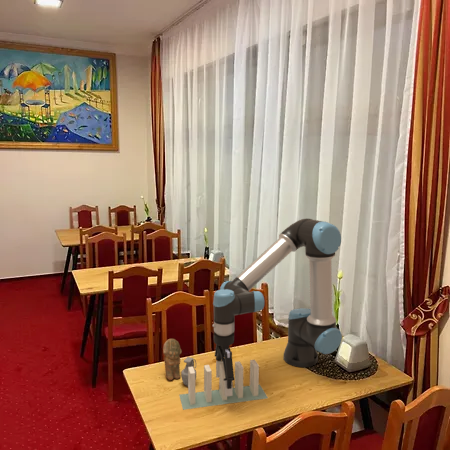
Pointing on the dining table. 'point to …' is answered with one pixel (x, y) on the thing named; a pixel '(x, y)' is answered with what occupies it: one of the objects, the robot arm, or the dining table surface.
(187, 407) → the strip
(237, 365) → the domino
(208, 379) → the domino
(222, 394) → the domino
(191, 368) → the domino
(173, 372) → the figurine
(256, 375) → the domino
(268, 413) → the dining table surface
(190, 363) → the hand grenade
